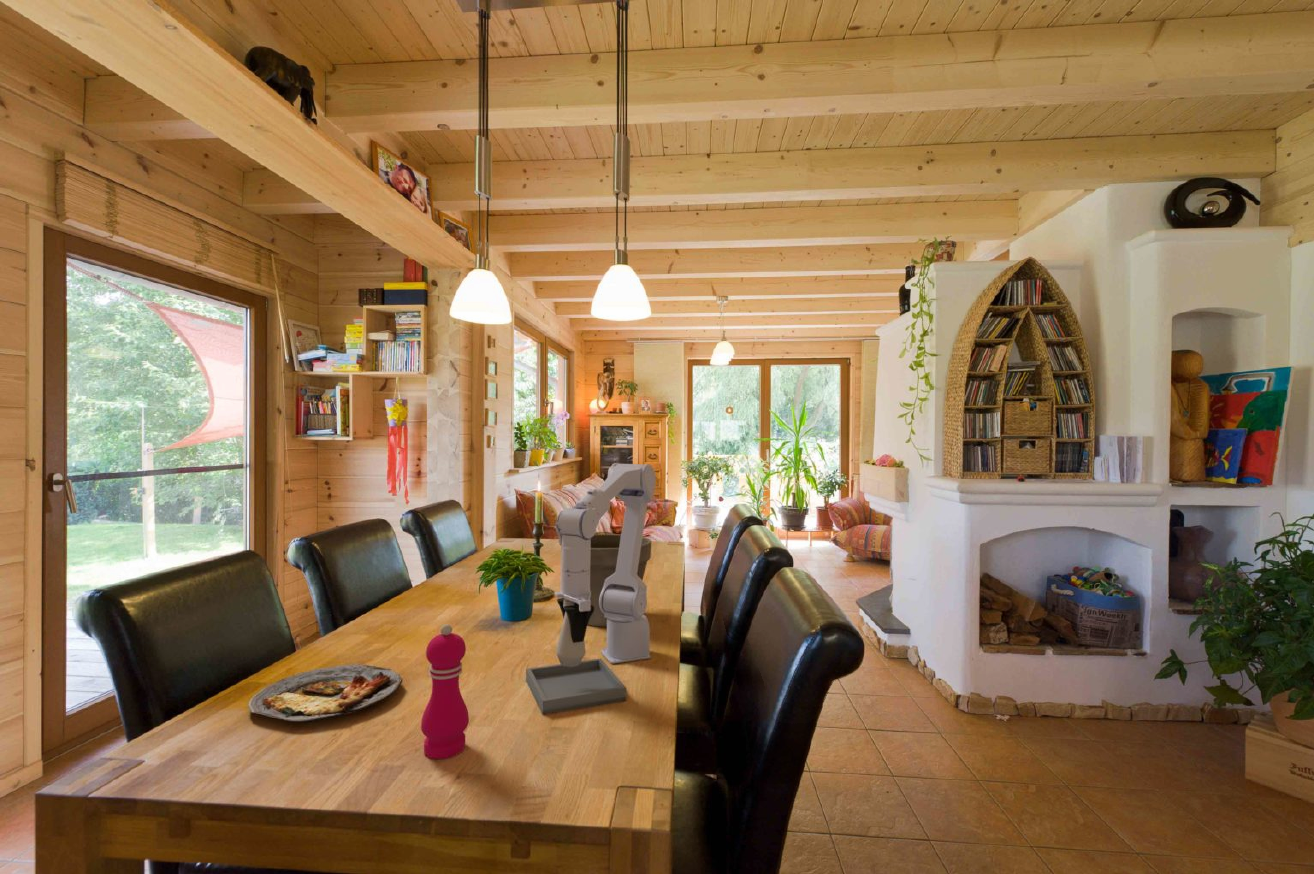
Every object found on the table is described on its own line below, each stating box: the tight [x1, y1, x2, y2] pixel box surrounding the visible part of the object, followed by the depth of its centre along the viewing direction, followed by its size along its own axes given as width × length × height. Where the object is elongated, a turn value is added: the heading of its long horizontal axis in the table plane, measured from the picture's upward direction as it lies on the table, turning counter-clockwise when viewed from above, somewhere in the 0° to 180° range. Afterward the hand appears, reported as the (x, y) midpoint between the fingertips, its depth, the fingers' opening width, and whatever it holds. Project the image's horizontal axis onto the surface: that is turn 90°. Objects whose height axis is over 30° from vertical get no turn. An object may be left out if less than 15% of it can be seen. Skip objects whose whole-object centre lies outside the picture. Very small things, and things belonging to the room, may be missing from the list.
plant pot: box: [587, 533, 652, 627], centre depth 166 cm, size 25×25×22 cm
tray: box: [525, 657, 627, 716], centre depth 119 cm, size 16×16×2 cm
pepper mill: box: [420, 623, 470, 760], centre depth 97 cm, size 7×7×20 cm
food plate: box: [248, 663, 403, 723], centre depth 114 cm, size 25×23×4 cm
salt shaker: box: [555, 599, 586, 667], centre depth 119 cm, size 6×6×13 cm
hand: (574, 637), depth 119 cm, fingers closed on salt shaker, 4 cm apart
